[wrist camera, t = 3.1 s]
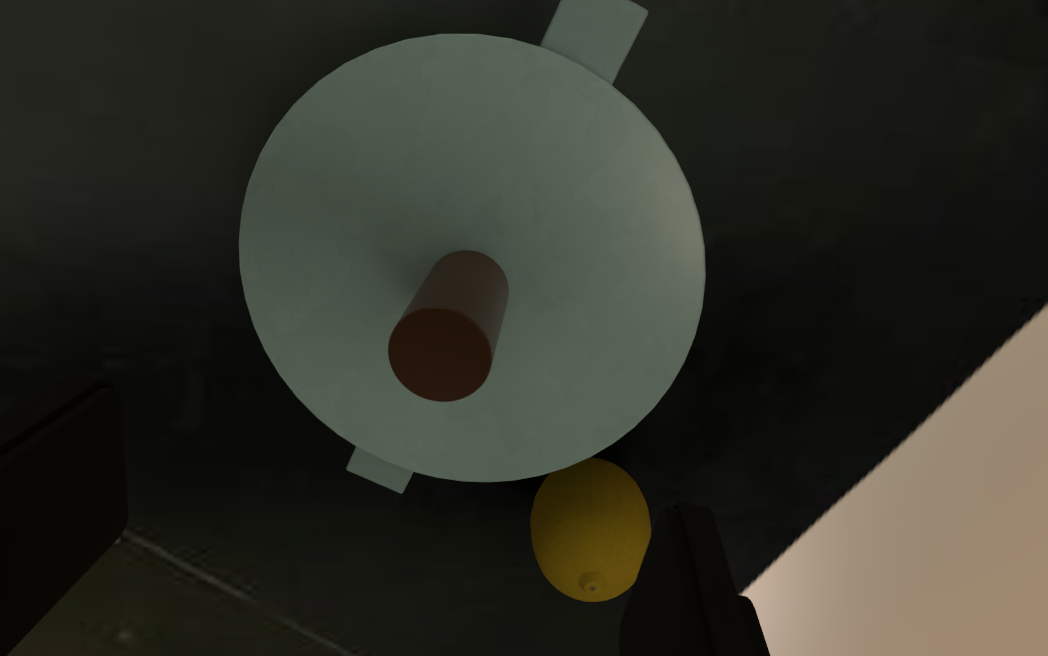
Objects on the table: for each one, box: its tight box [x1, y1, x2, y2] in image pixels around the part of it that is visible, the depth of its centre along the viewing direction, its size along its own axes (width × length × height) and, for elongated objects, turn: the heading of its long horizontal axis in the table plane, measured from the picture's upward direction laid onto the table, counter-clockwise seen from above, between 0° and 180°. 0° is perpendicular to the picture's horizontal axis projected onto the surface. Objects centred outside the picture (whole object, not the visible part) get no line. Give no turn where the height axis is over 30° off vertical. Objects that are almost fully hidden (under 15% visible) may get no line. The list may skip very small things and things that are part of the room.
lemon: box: [530, 457, 651, 602], centre depth 30 cm, size 6×6×8 cm
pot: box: [346, 0, 648, 493], centre depth 25 cm, size 14×19×8 cm
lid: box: [239, 34, 706, 482], centre depth 19 cm, size 15×15×6 cm
